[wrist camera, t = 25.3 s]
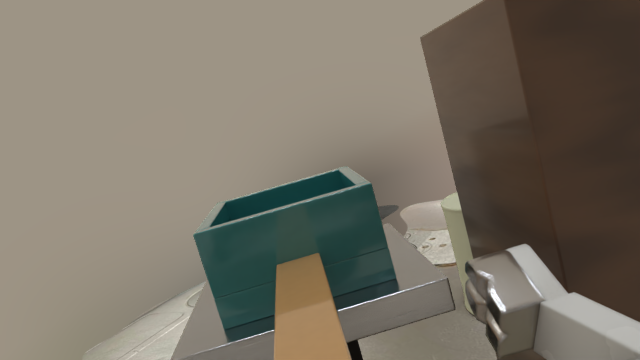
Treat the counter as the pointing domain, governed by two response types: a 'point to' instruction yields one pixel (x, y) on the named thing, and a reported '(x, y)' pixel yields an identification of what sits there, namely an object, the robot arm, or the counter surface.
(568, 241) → the plinth
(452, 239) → the can
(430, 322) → the counter surface
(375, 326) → the scale
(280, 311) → the teal handled box
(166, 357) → the counter surface
